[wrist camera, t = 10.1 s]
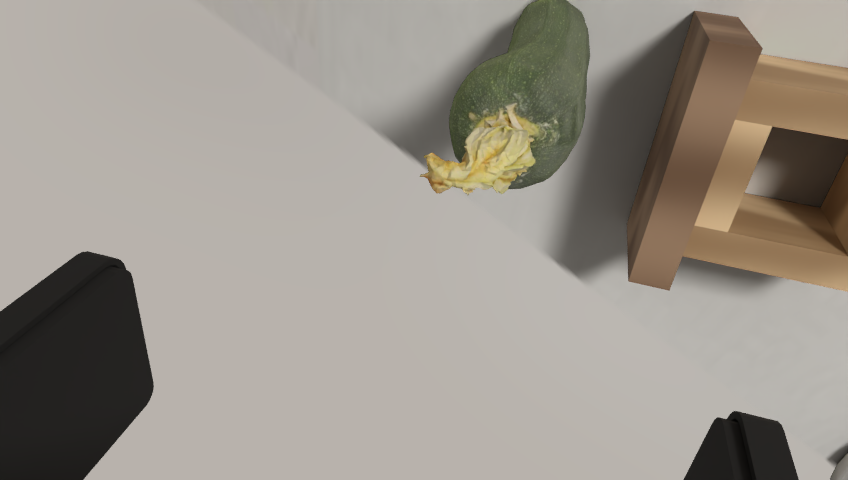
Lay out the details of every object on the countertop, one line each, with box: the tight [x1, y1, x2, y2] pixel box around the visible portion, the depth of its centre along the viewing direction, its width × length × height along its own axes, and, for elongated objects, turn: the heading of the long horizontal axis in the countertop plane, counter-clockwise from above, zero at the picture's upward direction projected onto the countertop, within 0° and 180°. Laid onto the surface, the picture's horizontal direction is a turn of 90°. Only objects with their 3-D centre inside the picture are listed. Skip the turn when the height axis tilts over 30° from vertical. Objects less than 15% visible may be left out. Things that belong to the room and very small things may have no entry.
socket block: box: [683, 54, 848, 292], centre depth 30 cm, size 9×9×5 cm
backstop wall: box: [627, 11, 763, 290], centre depth 30 cm, size 12×2×6 cm, turn 174°
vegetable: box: [420, 0, 590, 195], centre depth 24 cm, size 4×4×20 cm
